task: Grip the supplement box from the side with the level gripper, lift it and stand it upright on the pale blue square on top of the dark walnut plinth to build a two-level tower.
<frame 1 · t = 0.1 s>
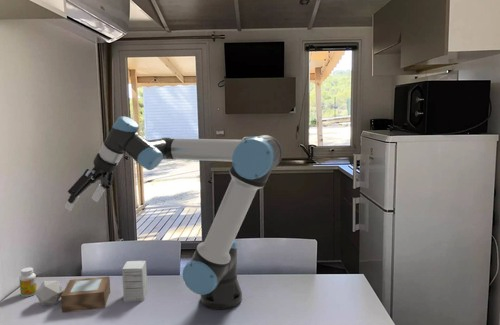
hand: (81, 204, 139), 36 cm above the table, tool tilted 35°, fingers open, 13 cm apart
supplement bottle: (29, 294, 148), on the table
supplement box: (135, 297, 145), on the table
walnut plinth: (87, 301, 142), on the table
die: (50, 303, 141), on the table
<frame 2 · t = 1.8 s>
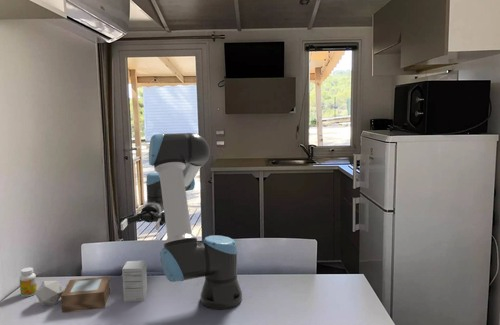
hand: (139, 226, 151), 24 cm above the table, tool horizontal, fingers open, 13 cm apart
nothing on the table moved.
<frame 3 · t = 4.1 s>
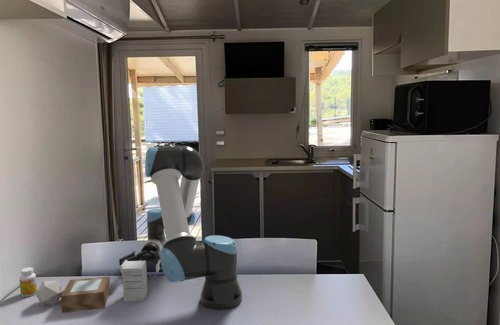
hand: (139, 269, 151), 7 cm above the table, tool horizontal, fingers open, 13 cm apart
nothing on the table moved.
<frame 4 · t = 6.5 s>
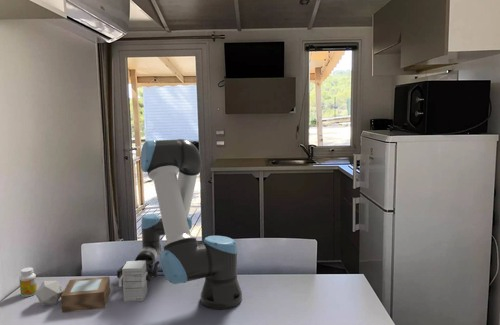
hand: (131, 283, 139), 8 cm above the table, tool horizontal, fingers closed on supplement box, 7 cm apart
supplement box: (135, 297, 145), on the table, touching gripper
everything else where it was.
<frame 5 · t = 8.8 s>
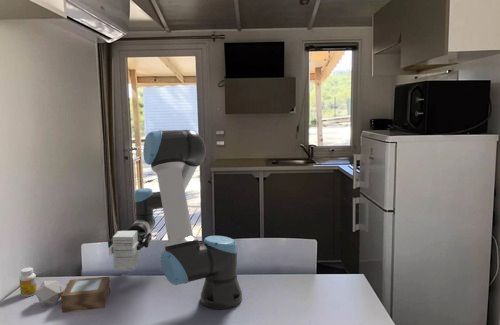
hand: (121, 251, 138), 19 cm above the table, tool horizontal, fingers closed on supplement box, 7 cm apart
supplement box: (126, 266, 144), point 11 cm above the table, touching gripper
everything else where it was.
when the fingers open (15 cm above the table, at t = 11.1 s): supplement box drops 1 cm, resting on walnut plinth.
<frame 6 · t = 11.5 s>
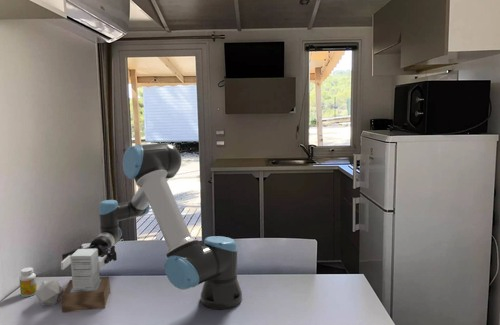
hand: (81, 265, 136), 15 cm above the table, tool horizontal, fingers open, 12 cm apart
supplement box: (86, 285, 141), point 6 cm above the table, touching walnut plinth
everything else where it was.
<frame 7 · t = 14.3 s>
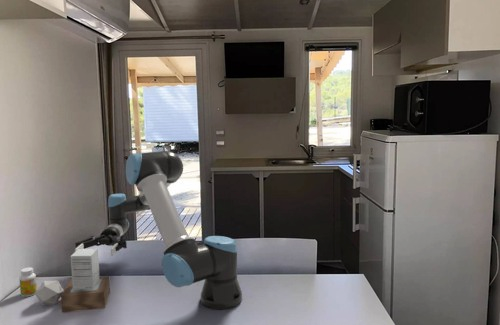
hand: (94, 252, 148), 15 cm above the table, tool horizontal, fingers open, 13 cm apart
nothing on the table moved.
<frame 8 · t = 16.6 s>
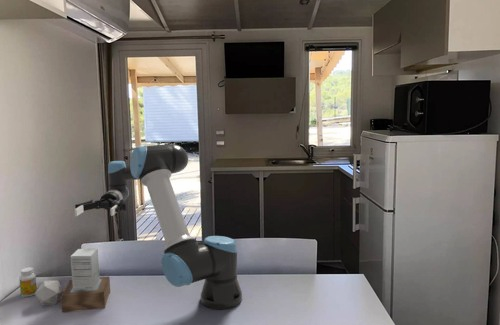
hand: (93, 212, 149), 30 cm above the table, tool horizontal, fingers open, 13 cm apart
nothing on the table moved.
at the end: supplement box inside the target area (0.1 cm from its centre), point 5.9 cm above the table; supplement box tilted 0°; the gripper is holding nothing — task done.
